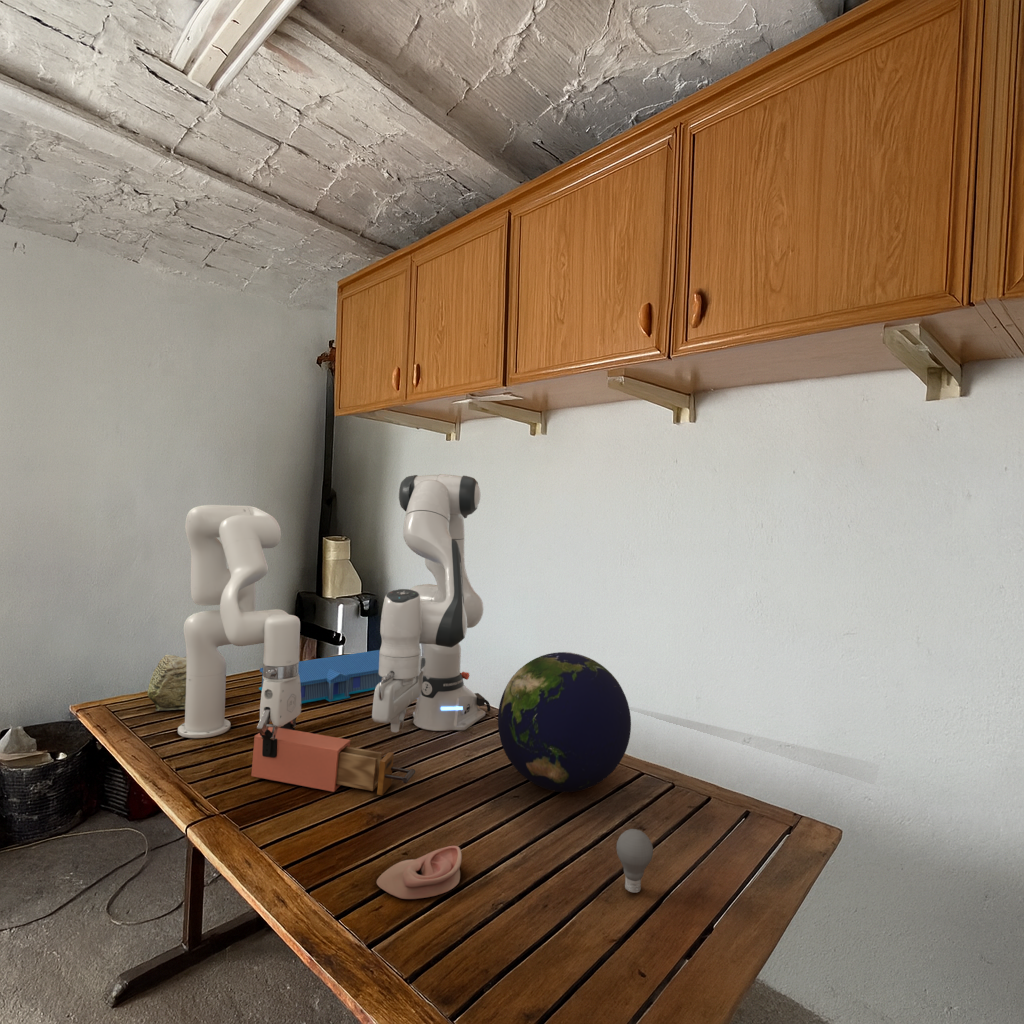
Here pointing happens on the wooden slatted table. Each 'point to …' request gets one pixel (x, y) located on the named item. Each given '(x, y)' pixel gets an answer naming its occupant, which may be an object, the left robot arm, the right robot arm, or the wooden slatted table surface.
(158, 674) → the fossil
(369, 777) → the drawer
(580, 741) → the globe
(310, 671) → the model building
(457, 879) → the anatomical model
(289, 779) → the cabinet
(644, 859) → the light bulb
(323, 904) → the wooden slatted table surface
